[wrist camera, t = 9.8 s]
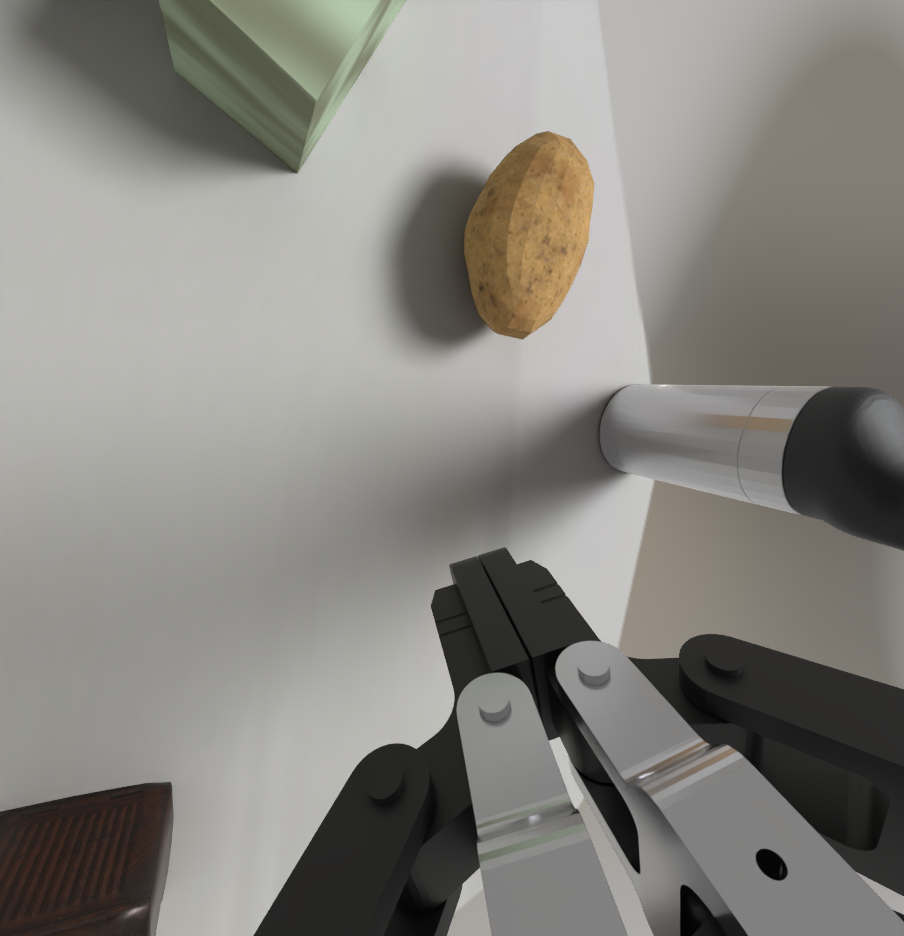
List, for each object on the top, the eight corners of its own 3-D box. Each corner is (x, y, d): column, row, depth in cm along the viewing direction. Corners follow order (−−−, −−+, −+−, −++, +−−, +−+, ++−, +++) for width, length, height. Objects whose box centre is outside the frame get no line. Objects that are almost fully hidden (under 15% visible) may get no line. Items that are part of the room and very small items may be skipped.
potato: (423, 321, 36) (468, 307, 28) (470, 143, 35) (528, 82, 27) (521, 359, 40) (581, 355, 33) (565, 202, 39) (637, 162, 32)
